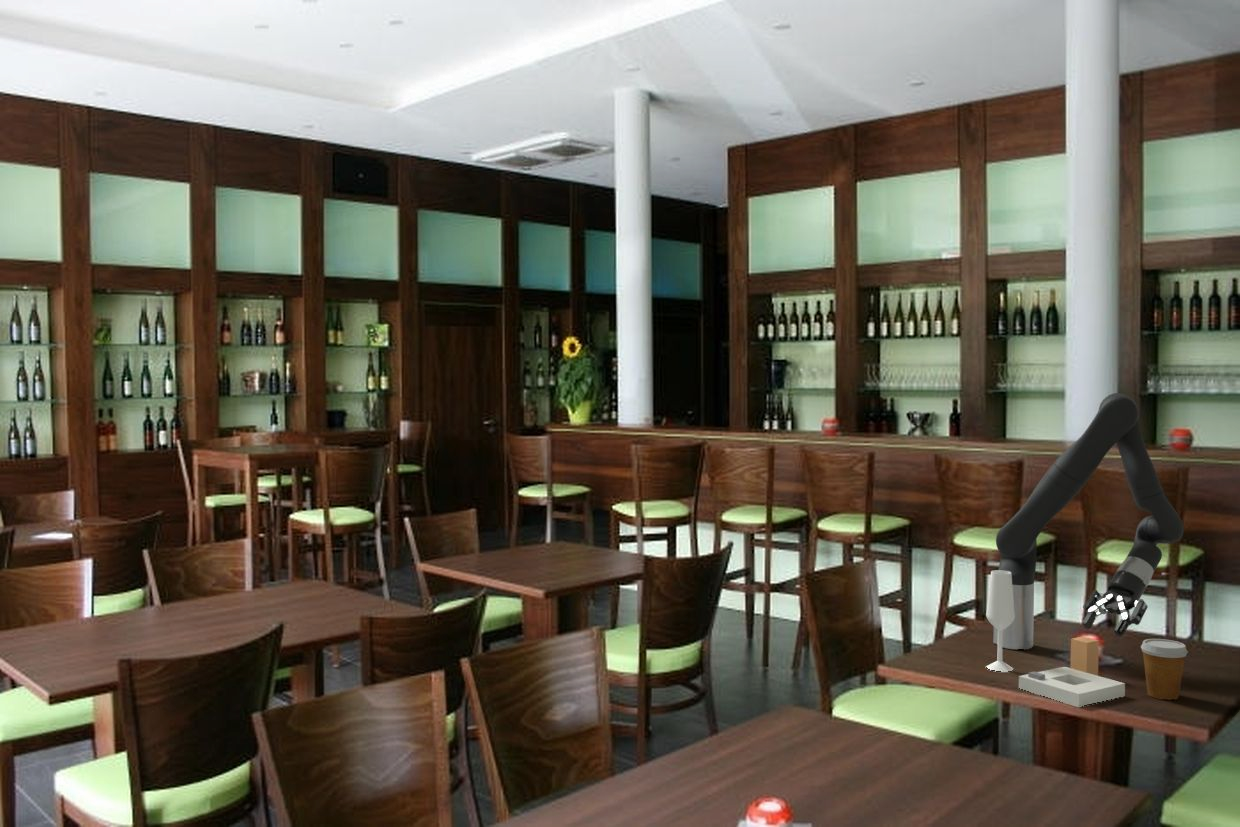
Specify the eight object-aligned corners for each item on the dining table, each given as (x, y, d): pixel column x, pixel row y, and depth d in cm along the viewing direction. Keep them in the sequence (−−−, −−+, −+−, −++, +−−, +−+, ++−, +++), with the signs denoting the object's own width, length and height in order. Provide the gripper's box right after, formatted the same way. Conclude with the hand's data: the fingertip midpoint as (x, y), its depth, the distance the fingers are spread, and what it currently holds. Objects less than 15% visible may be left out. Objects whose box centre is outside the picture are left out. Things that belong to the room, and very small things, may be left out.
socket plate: (1018, 688, 251) (1018, 671, 251) (1064, 678, 259) (1064, 662, 259) (1078, 707, 237) (1078, 689, 237) (1124, 696, 245) (1125, 679, 245)
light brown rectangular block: (1070, 675, 262) (1070, 638, 261) (1082, 673, 264) (1082, 636, 264) (1086, 680, 258) (1086, 642, 258) (1098, 677, 260) (1098, 640, 260)
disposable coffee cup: (1190, 704, 239) (1191, 650, 239) (1142, 699, 243) (1143, 646, 242) (1182, 692, 248) (1184, 640, 248) (1137, 688, 252) (1138, 636, 251)
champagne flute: (1016, 672, 264) (1018, 575, 263) (987, 671, 265) (989, 574, 264) (1011, 665, 271) (1012, 570, 270) (983, 664, 272) (984, 569, 271)
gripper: (1099, 565, 274) (1069, 615, 268) (1151, 574, 261) (1120, 627, 256) (1112, 584, 276) (1082, 634, 271) (1164, 593, 264) (1134, 646, 259)
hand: (1101, 630), depth 263 cm, fingers open, 8 cm apart
